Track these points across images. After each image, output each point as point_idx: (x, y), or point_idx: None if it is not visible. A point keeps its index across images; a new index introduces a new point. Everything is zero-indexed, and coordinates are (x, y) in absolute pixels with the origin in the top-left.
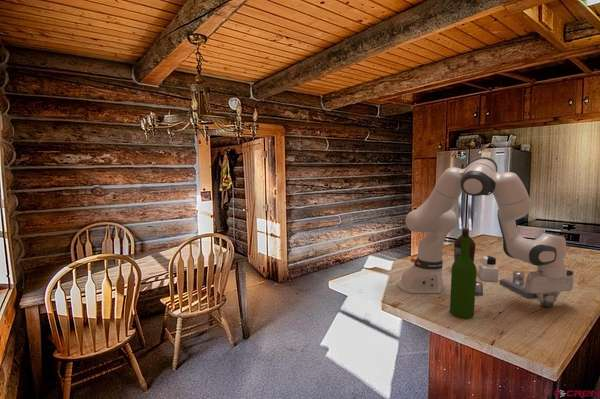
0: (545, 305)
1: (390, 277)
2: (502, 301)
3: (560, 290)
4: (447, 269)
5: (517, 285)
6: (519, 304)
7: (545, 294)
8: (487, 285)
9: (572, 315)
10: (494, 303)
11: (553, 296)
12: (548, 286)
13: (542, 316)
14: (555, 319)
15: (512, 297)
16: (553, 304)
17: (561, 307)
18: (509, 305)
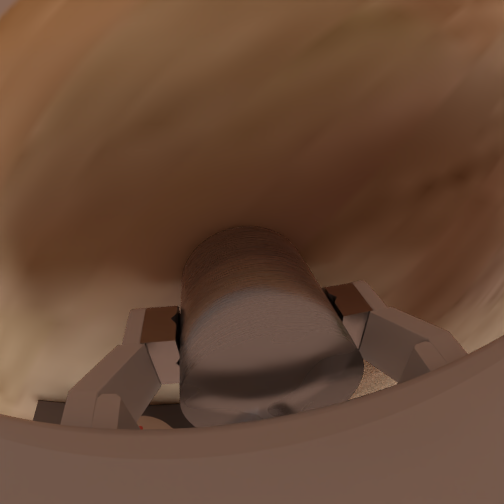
0: (300, 255)
1: None
2: (456, 331)
3: (63, 448)
4: None
5: None
6: (423, 303)
7: (337, 377)
8: None
9: (134, 39)
10: (498, 303)
11: (251, 330)
12: (464, 497)
13: (457, 94)
14: (407, 15)
15: (359, 390)
16: (206, 255)
17: (96, 244)
18: (476, 285)
